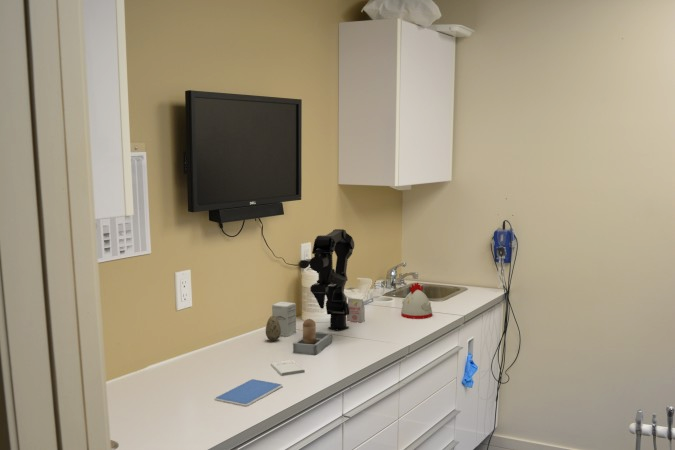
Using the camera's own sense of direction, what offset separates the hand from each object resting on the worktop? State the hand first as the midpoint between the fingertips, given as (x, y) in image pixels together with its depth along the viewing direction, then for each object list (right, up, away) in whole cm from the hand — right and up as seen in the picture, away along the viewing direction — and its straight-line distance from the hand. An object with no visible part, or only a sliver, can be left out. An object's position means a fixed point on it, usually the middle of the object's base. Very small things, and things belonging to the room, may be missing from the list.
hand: (326, 305), depth 261 cm
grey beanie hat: (+40, -9, +36) cm, 55 cm away
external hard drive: (-13, -18, -36) cm, 43 cm away
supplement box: (-17, -13, +9) cm, 23 cm away
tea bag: (+13, -10, +28) cm, 32 cm away
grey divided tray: (-5, -14, -12) cm, 19 cm away
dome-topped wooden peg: (-6, -14, -16) cm, 22 cm away
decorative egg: (-21, -14, -1) cm, 25 cm away
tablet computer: (-23, -20, -59) cm, 67 cm away
